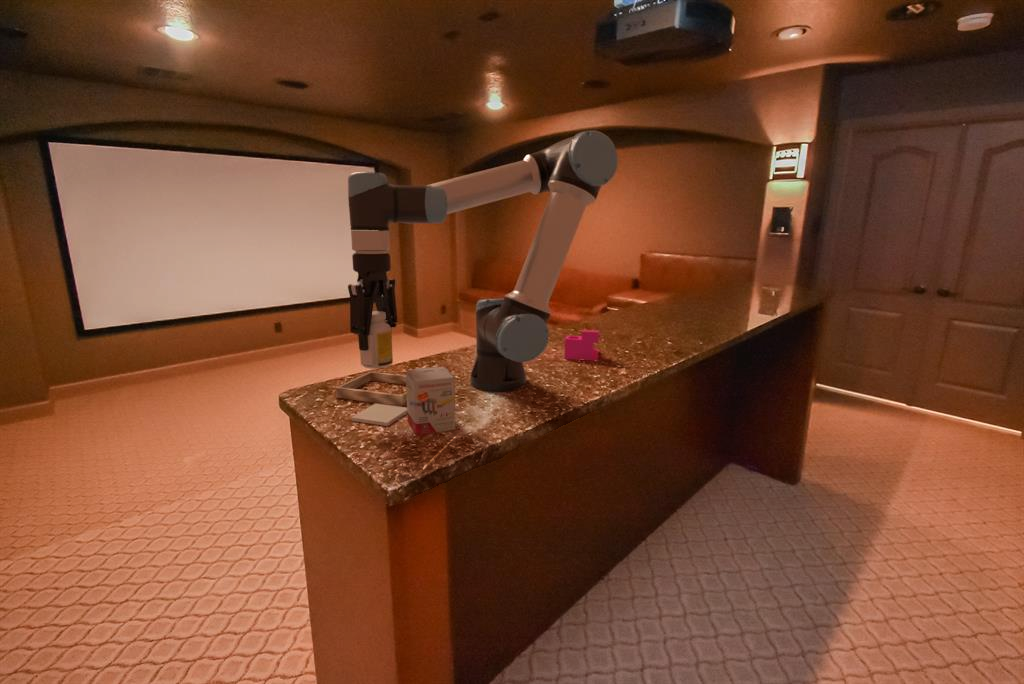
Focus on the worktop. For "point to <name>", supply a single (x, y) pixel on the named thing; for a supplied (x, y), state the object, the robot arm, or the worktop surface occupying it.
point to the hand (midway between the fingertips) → (377, 360)
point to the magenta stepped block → (582, 346)
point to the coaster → (380, 414)
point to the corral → (351, 392)
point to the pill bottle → (380, 341)
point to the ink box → (430, 400)
